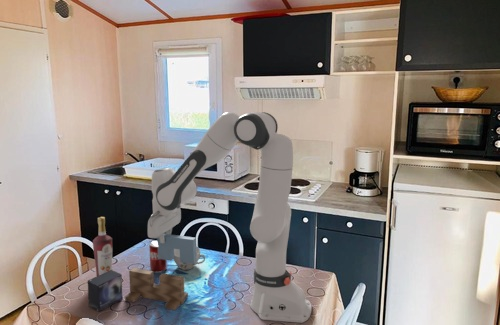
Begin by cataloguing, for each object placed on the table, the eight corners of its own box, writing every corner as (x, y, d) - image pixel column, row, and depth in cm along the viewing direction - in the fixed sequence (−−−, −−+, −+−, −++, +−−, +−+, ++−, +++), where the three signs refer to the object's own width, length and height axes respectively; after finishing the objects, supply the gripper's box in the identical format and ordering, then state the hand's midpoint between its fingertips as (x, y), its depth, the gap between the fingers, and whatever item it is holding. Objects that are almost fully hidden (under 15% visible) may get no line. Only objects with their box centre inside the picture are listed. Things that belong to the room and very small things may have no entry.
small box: (99, 312, 131) (97, 285, 129) (87, 307, 135) (86, 280, 133) (123, 299, 140) (122, 273, 138) (112, 294, 144) (110, 269, 142)
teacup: (167, 272, 162) (167, 254, 160) (178, 259, 174) (178, 243, 173) (200, 275, 159) (200, 258, 158) (209, 263, 171) (209, 246, 170)
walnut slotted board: (189, 296, 143) (188, 272, 141) (176, 310, 133) (175, 285, 131) (139, 286, 149) (138, 263, 147) (124, 299, 140) (123, 275, 138)
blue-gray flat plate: (196, 261, 149) (195, 237, 147) (193, 263, 146) (193, 239, 144) (161, 256, 153) (160, 233, 152) (158, 258, 151) (157, 235, 149)
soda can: (162, 273, 160) (161, 247, 158) (147, 272, 162) (146, 246, 159) (169, 266, 167) (168, 241, 165) (154, 264, 169) (153, 239, 166)
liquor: (101, 289, 146) (96, 222, 141) (92, 283, 151) (87, 218, 146) (118, 282, 152) (114, 217, 147) (108, 277, 157) (105, 213, 152)
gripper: (157, 216, 137) (158, 251, 139) (183, 201, 156) (184, 232, 158) (142, 215, 139) (144, 249, 141) (169, 200, 158) (171, 231, 160)
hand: (165, 240), depth 150 cm, fingers closed on blue-gray flat plate, 2 cm apart
